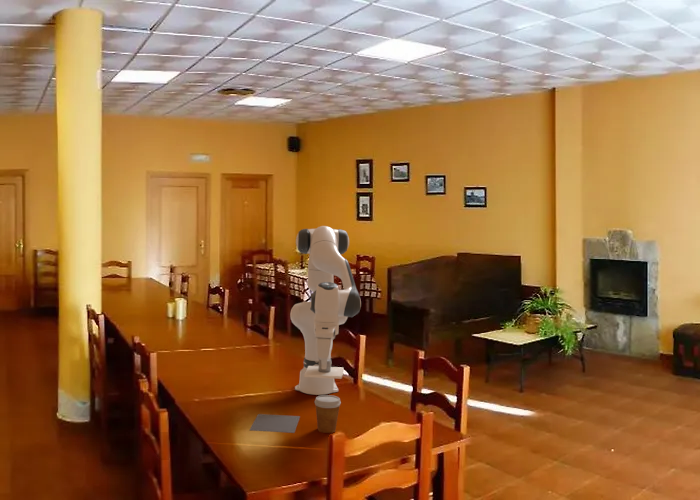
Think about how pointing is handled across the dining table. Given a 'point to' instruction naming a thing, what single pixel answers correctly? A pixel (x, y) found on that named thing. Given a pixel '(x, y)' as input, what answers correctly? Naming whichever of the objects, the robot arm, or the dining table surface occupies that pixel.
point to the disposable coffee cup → (327, 412)
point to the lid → (324, 371)
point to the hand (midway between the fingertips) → (324, 366)
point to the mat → (275, 423)
